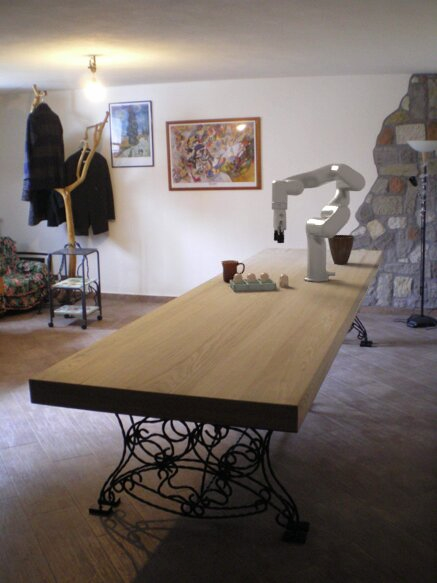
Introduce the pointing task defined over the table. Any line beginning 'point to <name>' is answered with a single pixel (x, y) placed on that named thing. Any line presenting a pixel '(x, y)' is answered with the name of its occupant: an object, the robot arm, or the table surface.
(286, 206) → the robot arm
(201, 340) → the table surface
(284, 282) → the egg
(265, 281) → the carton
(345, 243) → the plant pot
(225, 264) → the mug
